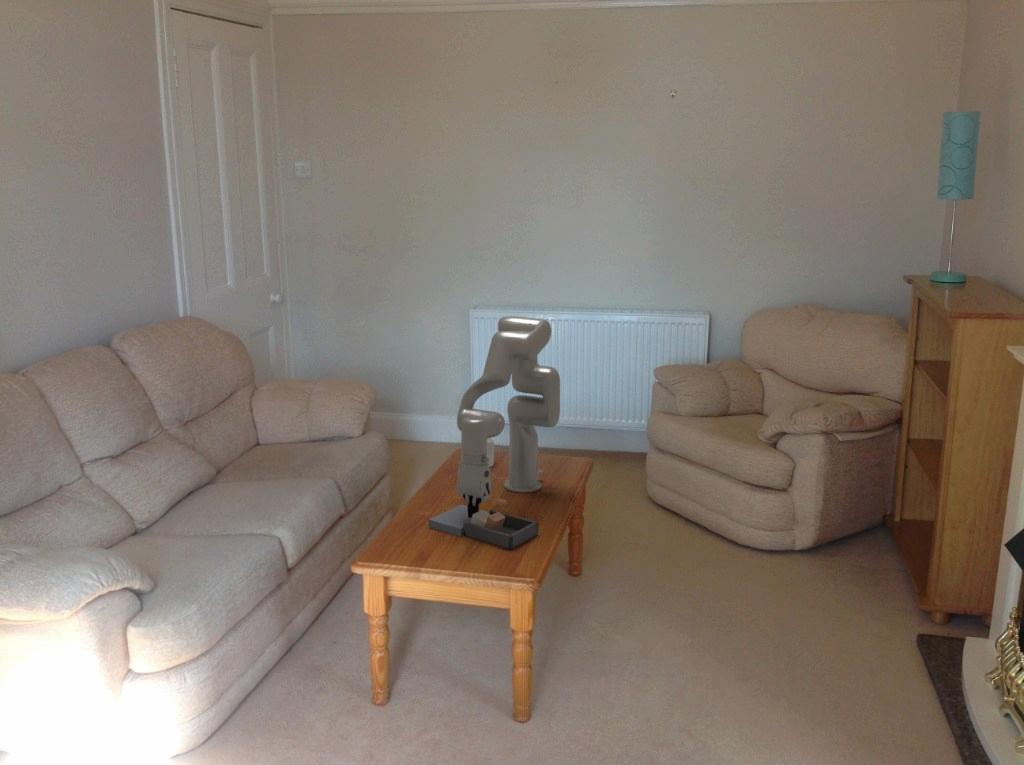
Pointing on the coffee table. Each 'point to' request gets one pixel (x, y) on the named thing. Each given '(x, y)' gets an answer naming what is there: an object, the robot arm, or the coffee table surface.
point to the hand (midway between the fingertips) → (473, 516)
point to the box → (504, 532)
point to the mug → (490, 451)
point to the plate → (451, 520)
